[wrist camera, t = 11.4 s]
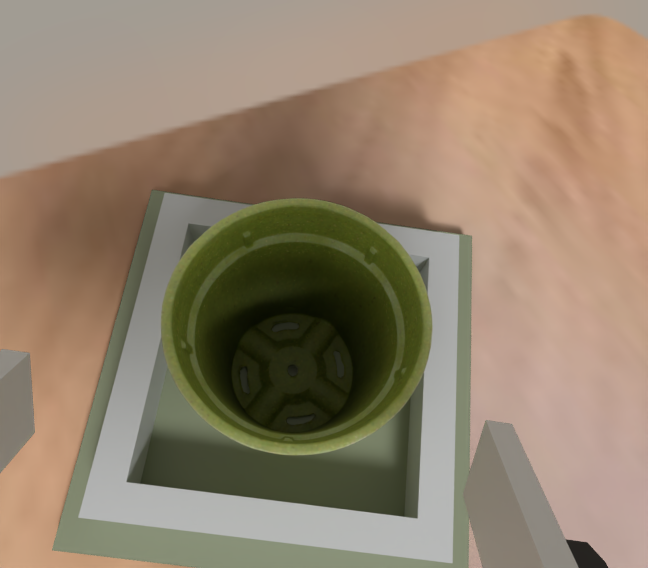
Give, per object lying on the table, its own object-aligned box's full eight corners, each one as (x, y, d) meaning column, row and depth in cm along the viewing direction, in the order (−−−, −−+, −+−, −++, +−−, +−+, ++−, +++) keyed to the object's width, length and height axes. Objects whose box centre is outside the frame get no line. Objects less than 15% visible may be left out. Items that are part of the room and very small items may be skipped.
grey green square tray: (466, 243, 32) (488, 213, 28) (460, 596, 25) (489, 610, 21) (155, 199, 31) (142, 163, 28) (60, 548, 24) (27, 555, 21)
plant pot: (183, 300, 28) (146, 217, 20) (361, 269, 29) (393, 180, 21) (209, 491, 24) (178, 485, 16) (408, 446, 26) (467, 420, 18)
